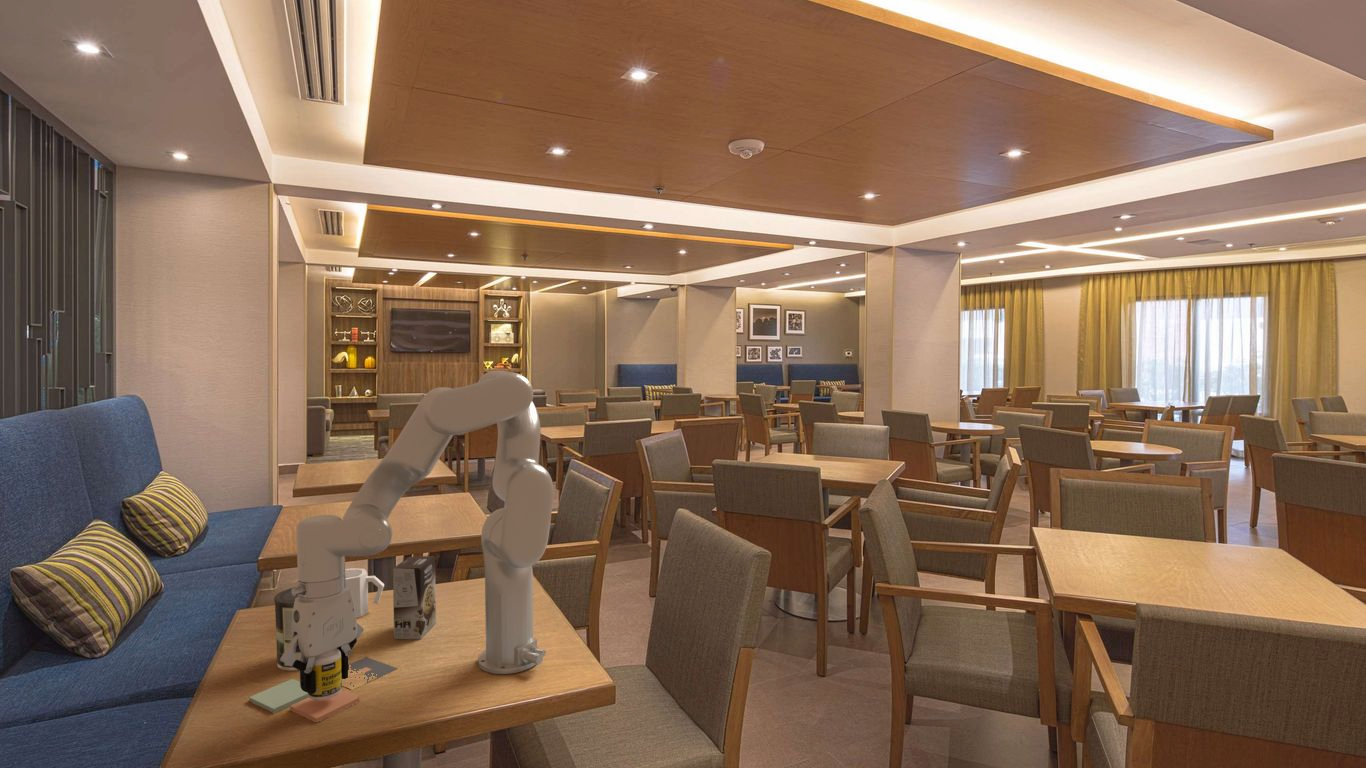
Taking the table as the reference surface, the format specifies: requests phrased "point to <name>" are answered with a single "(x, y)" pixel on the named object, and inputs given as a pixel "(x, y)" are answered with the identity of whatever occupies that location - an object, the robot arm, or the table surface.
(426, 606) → the coffee box
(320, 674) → the supplement bottle
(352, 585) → the mug
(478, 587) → the table surface
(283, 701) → the pad sage
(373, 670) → the tile
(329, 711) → the pad terracotta
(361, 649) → the table surface
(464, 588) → the table surface
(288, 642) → the coffee can
